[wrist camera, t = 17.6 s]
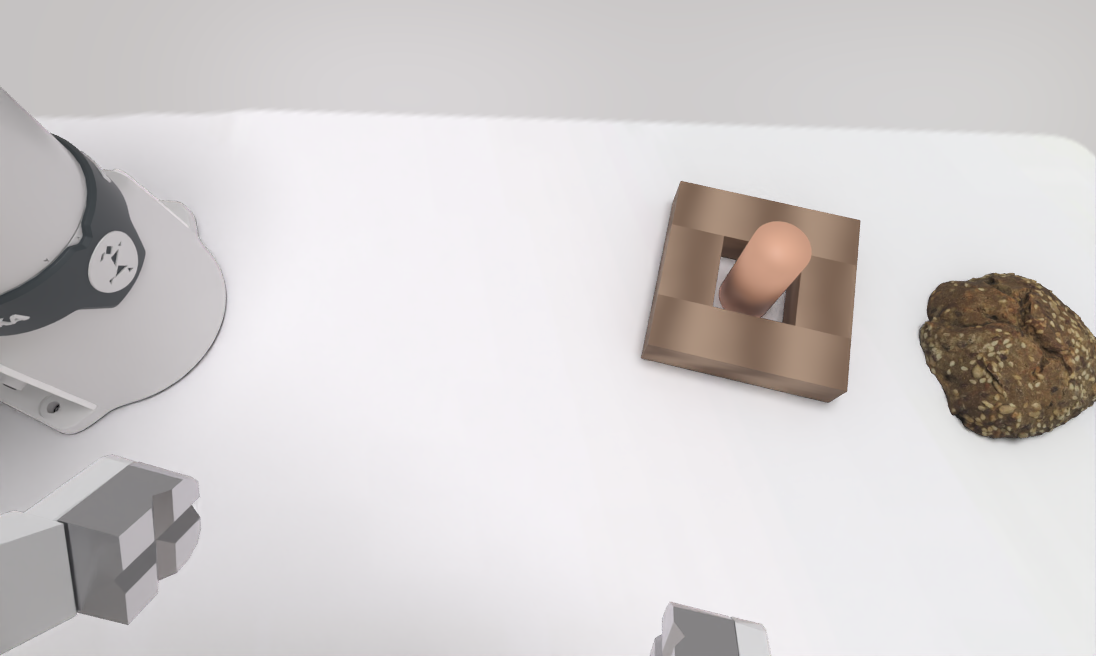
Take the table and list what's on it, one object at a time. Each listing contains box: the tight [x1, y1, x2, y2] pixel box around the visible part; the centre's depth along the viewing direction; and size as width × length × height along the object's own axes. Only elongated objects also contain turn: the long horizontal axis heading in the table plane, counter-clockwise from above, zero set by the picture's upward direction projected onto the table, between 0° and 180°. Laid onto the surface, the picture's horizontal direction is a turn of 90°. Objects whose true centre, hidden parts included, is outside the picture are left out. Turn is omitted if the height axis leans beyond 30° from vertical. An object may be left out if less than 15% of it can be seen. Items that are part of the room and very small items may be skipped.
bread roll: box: [920, 273, 1096, 438], centre depth 48 cm, size 13×12×5 cm
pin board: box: [641, 181, 860, 403], centre depth 49 cm, size 14×14×3 cm
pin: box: [719, 221, 812, 318], centre depth 47 cm, size 4×4×8 cm
